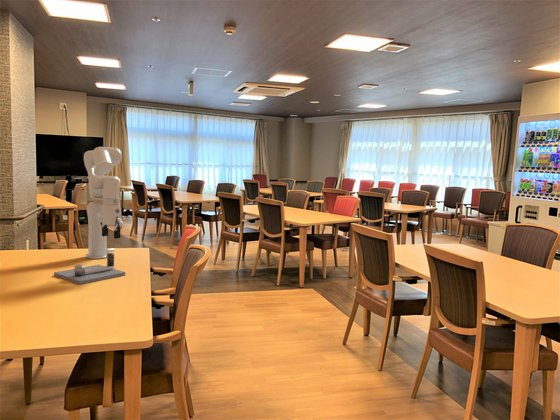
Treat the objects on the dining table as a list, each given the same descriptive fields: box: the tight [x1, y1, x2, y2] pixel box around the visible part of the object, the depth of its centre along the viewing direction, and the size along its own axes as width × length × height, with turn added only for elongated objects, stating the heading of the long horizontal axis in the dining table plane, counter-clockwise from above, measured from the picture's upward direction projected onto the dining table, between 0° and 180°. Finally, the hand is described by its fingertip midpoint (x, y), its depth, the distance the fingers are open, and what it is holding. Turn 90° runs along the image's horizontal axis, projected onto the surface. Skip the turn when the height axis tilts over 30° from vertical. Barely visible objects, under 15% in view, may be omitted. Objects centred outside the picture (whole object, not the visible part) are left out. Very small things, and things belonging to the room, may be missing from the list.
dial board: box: [53, 264, 126, 285], centre depth 206 cm, size 23×22×2 cm
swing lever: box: [74, 252, 115, 276], centre depth 205 cm, size 20×4×8 cm, turn 145°
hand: (111, 237), depth 211 cm, fingers open, 9 cm apart
